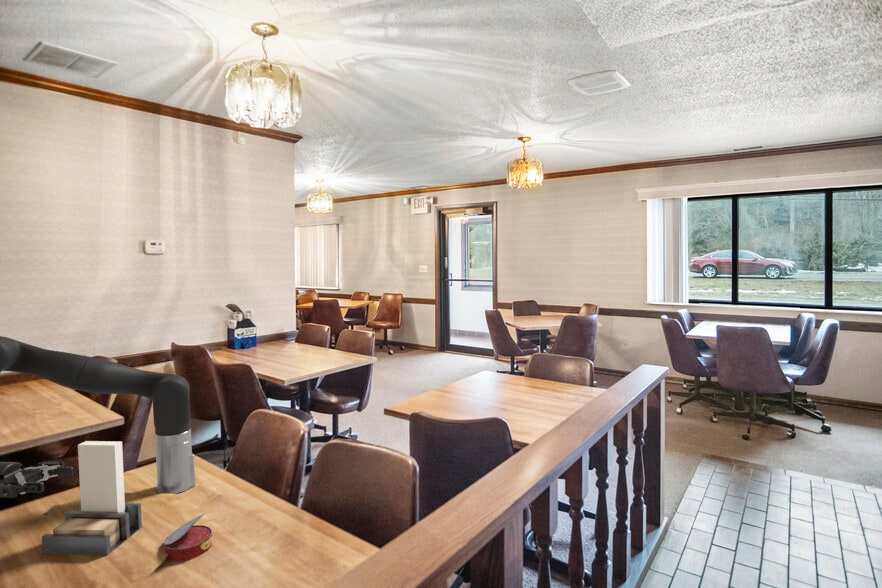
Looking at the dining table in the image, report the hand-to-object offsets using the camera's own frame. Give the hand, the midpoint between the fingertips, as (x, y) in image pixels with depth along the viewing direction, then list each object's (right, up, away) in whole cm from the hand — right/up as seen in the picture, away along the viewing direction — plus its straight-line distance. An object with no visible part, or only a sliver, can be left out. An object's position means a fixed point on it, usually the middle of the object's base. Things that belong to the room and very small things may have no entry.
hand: (58, 479), depth 117 cm
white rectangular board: (+11, -13, 0) cm, 17 cm away
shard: (-7, -15, +12) cm, 20 cm away
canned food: (+33, -15, -4) cm, 37 cm away
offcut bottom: (+11, -13, -5) cm, 18 cm away
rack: (+11, -15, -3) cm, 18 cm away
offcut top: (+11, -11, -5) cm, 16 cm away
